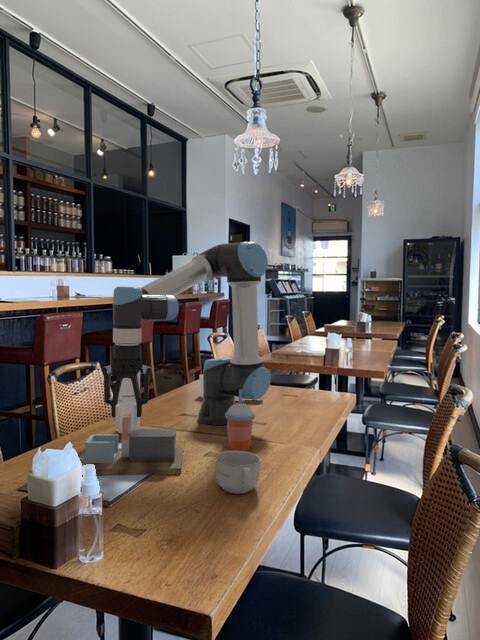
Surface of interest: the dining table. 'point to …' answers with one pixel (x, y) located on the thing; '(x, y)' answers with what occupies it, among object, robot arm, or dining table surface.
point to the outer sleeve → (152, 445)
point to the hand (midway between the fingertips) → (126, 428)
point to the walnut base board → (137, 466)
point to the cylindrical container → (127, 401)
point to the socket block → (101, 448)
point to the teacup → (237, 471)
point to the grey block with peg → (125, 434)
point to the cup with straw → (239, 425)
